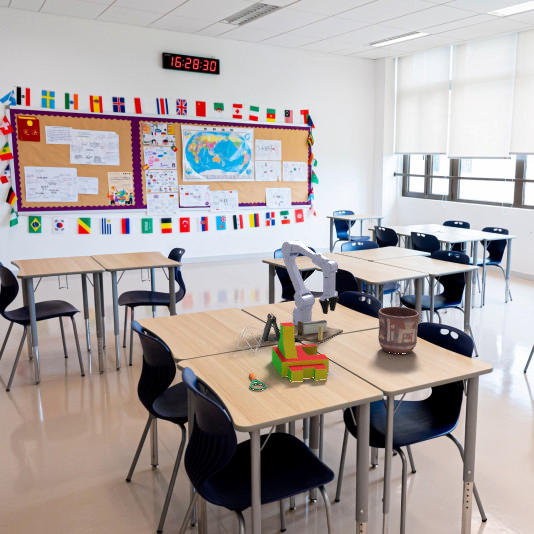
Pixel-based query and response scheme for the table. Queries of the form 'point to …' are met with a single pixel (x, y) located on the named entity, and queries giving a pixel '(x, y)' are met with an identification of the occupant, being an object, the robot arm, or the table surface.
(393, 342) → the pottery
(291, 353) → the building blocks toy
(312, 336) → the brown wooden board
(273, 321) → the phone stand
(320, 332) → the post
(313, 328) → the panel
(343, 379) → the table surface
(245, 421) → the table surface
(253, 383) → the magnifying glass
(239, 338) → the geometric polyhedron
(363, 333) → the table surface
